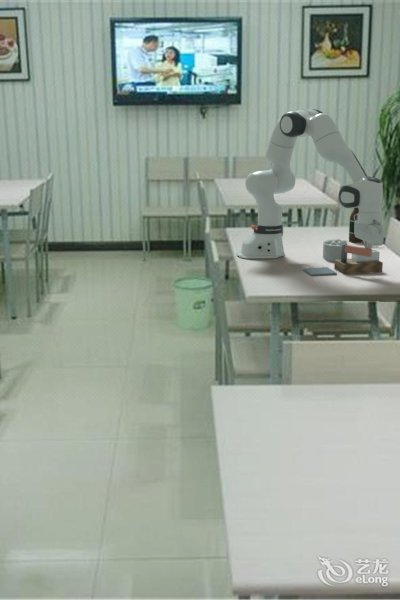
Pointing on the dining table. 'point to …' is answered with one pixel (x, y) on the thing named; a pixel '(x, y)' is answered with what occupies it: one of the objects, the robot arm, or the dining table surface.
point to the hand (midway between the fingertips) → (367, 252)
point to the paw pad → (332, 249)
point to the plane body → (357, 266)
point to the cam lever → (354, 251)
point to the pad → (319, 271)
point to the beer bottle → (351, 227)
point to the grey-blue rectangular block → (366, 259)
